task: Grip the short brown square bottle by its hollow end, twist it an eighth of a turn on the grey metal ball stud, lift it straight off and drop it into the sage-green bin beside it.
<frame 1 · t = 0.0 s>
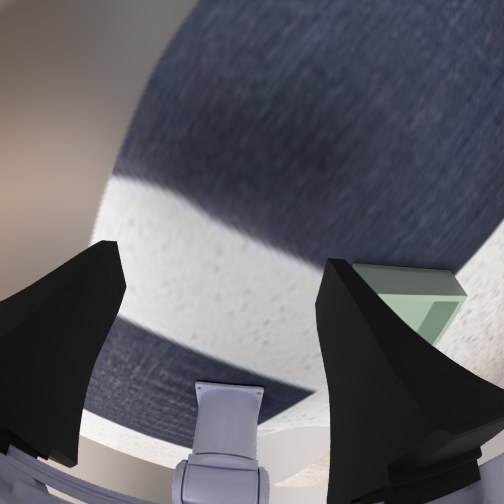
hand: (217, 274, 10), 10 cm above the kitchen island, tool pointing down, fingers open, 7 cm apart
bin: (387, 311, 24), on the kitchen island
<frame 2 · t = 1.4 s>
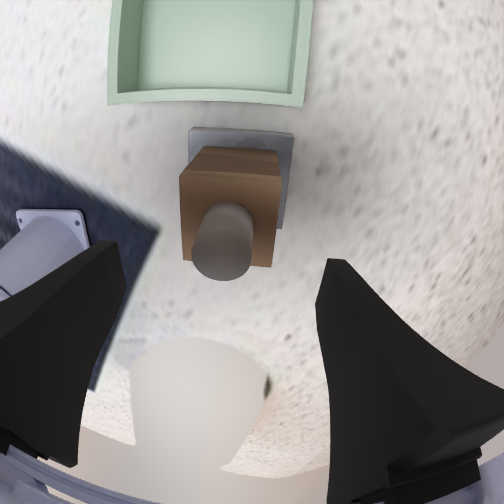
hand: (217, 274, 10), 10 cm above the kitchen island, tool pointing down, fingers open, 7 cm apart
brown square bottle: (237, 181, 17), point 1 cm above the kitchen island, touching stud plate
bin: (215, 20, 13), on the kitchen island
stud plate: (239, 174, 18), on the kitchen island
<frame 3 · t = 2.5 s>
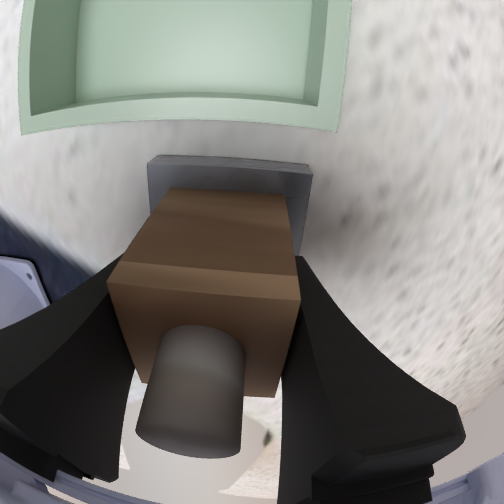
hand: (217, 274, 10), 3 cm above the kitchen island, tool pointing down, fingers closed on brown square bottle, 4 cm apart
brown square bottle: (224, 239, 12), point 1 cm above the kitchen island, touching gripper, stud plate
stud plate: (228, 225, 13), on the kitchen island
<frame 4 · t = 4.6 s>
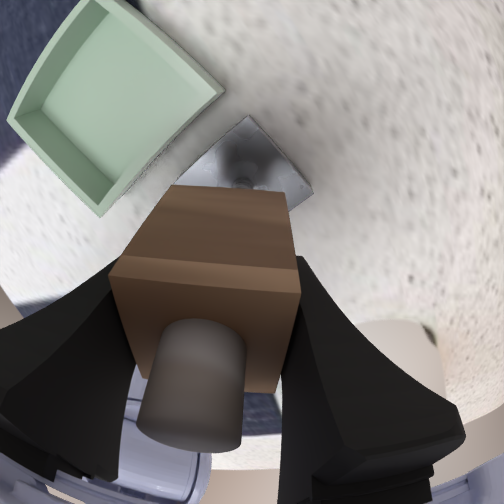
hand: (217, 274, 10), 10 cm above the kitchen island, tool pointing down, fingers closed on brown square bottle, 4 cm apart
brown square bottle: (225, 237, 12), point 8 cm above the kitchen island, touching gripper
bin: (115, 95, 15), on the kitchen island
stud plate: (244, 180, 18), on the kitchen island
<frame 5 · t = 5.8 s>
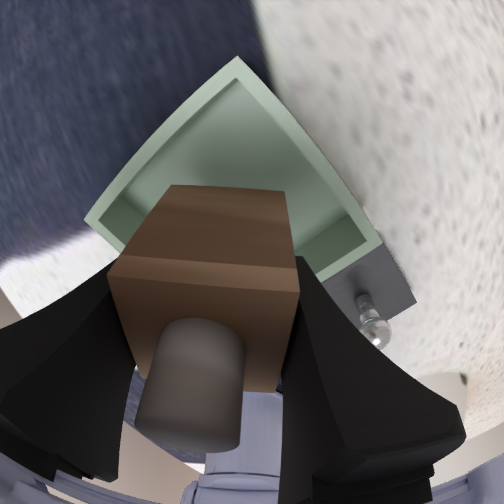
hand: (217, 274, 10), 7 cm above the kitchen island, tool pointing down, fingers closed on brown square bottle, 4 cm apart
brown square bottle: (225, 236, 12), point 4 cm above the kitchen island, touching gripper
bin: (234, 196, 15), on the kitchen island
stud plate: (359, 289, 19), on the kitchen island
when the fingers open (5 cm above the kitchen island, at t = 6.6 s): brown square bottle drops 2 cm, resting on bin.
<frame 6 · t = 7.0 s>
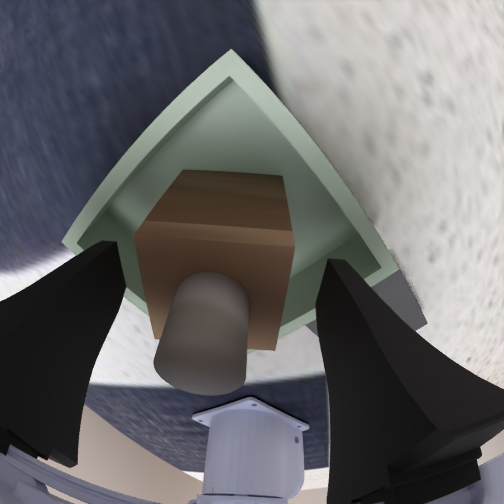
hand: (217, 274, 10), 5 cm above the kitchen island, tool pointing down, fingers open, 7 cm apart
brown square bottle: (230, 216, 13), point 1 cm above the kitchen island, touching bin
bin: (230, 213, 14), on the kitchen island
stud plate: (367, 310, 17), on the kitchen island
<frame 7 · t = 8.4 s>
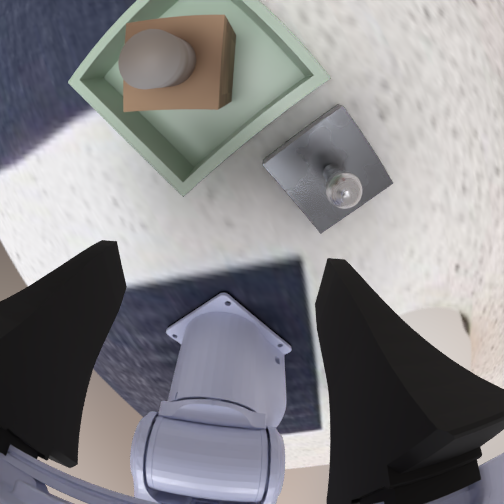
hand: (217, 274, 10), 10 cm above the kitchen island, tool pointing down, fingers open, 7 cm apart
brown square bottle: (197, 67, 14), point 1 cm above the kitchen island, touching bin
bin: (199, 69, 15), on the kitchen island
stud plate: (328, 167, 18), on the kitchen island
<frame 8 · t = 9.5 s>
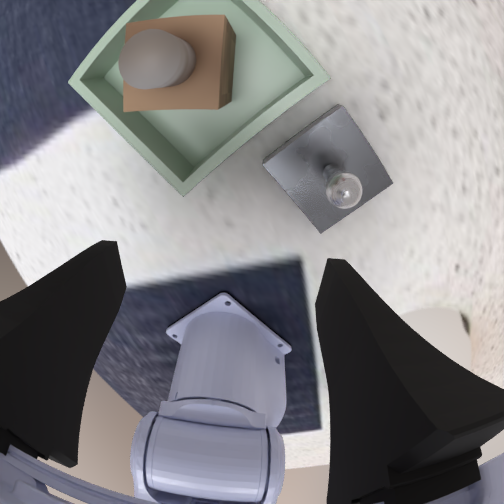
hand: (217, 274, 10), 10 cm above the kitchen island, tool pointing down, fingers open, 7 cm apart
brown square bottle: (197, 67, 14), point 1 cm above the kitchen island, touching bin
bin: (199, 69, 15), on the kitchen island
stud plate: (328, 167, 18), on the kitchen island
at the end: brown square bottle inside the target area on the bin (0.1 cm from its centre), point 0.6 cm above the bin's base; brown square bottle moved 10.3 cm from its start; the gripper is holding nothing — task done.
